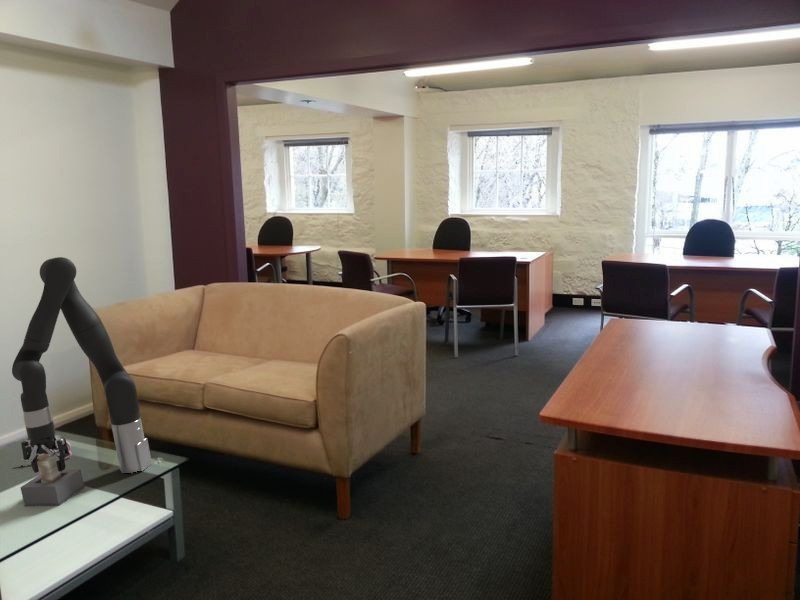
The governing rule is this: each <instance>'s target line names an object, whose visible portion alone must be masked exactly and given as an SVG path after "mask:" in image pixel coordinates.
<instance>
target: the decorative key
mask: <svg viewBox="0 0 800 600" xmlns="http://www.w3.org/2000/svg"><path fill="white" fill-rule="evenodd" d="M66 443H67V447H68V450H69V455H68V456H67V457H65V458H64V460H67V459H66V458H68V459H70V458H71V456H72V455H73V454H72V451H71V448H72V445H71V443H70V442H69V441H67V440H66ZM53 451H55V449H54V450H53ZM57 455H58V454H57ZM45 456H50V455H49V454H39V456H38V458H37V459H42V458H44V457H45ZM58 456H59V455H58Z"/></svg>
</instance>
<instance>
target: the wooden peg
mask: <svg viewBox="0 0 800 600" xmlns="http://www.w3.org/2000/svg"><path fill="white" fill-rule="evenodd" d="M56 461H57V460H56V459H55V458H54V457H53V456H50V455H49V456H45V457H44V458H42V459H40V460H39V461H37V464H38V468H39V472H38V474H39V475H40V478H41V482H42V483H54V482H55V481H57V480H58V479H60V478H61V477H62V476H61V472H59V471H58V468H57V463H56Z"/></svg>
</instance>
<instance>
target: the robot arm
mask: <svg viewBox="0 0 800 600" xmlns="http://www.w3.org/2000/svg"><path fill="white" fill-rule="evenodd" d="M39 277H40V279H41V281H42V283H43V290H42V293H41V297H40V300H39V302H38V305H37V307H36V309H35V311H34V313H33V314H32V317H31V319H30V321H29V324H28V327H27V329H26V332H25V334H24V335H25V336H24V339H23V343H22V346H21V347H20V349H19V350H18V352H17V354H16V356H15V358H14V361H13V363H12V368H11V374H12V376H13V378H14V379H15V380H17V381H19V382H21V388H22V392H21V394H20V403H21V408H22V411H23V420H24V425H25V430H26V435H27V438H26V439H25V440H23V441H22V442H21V443H20V444H21V452H22V457H23V460H24V461H27V460H29V461H30V462H29V463H31V468H32V470H33V472H34V473H39V468H38V464H37V461H39V459H37V458H38V456H39V455H42V454H49V456H53V457H54V458H55V459H56V460H57V461H56V463H57V468H58V471H59V472H61V471H63V470H64V469H66V462H65V459H64V458H65V457H67V456H69V451H70V450H68V449H69V446H68V445H67V443H66V441H67V439H66V438H65V437H62V438H58V439H57V438H56V428H55V423H54V419H53V414H52V410H51V408H50V404H49V399H48V396H47V395H48V394H47V374H46V371H45V367H44V366H43V364H42V363H41V362H40V361H41V358H42V356H43V354H44V353H46V352H47V351H48V349H49V348H50V344H51V343H52V342H51V341H52V338H53V335H54V330H55V328H56V325H57V322H58V318H59V314H60V312H61V313H62V314H63V317H64V319H65V321H66V324H67V325H68V327H69V329H70V331H71V333H72V335H73V337H74V338H75V341H76V343H77V344H78V346H79V347H80V349H81V350H82V352H83V353H84V354H85V356H86V357H87V358H88V359H89V360H90V362H91V363H92V364H93V366H94V368H95V369H96V371H97V373H98V376H99V378H100V381H101V383H102V386H103V389H104V393H105V399H106V402H107V407H108V408H107V409H108V414H109V420H110V425H111V429H112V436H113V440H114V446H115V449H116V457H117V460H118V466H119V472H120V471H121V472H122V473H121V472H120V473H121V474H123V473H131V474H134V473H133V472H136V473H138V472H137V471H142V472H144V471H145V470H146V469H147V468H149V467H150V466H151V465H152V464H153V463H152V462H153V461H152V458H151V457H152V456H151V452H150V445H149V440H148V437H145V434H144V429H143V424H142V419H141V418H142V417H141V412H140V404H139V398H138V393H137V387H136V384H135V381H134V380H133V378H132V376H130V374H129V373H128V372H127V370H126V368H125V366H123V365H122V363H121V361H120V360H119V358H118V356H117V354H116V352H115V349H114V346H113V343H112V340H111V338H110V335H109V333H108V331H107V329H106V327H105V325H104V323H103V321H102V319H101V318H100V317H99V315H98V314H97V312H96V311H95V310H94V308H93V307H92V306H91V304H89V302H87V301H86V299H85V298H84V297H83V295H82V294H81V292H80V291H79V290H80V289H78V286H77V284H76V282H75V278H76V277H77V267H76V265H75V263H74V262H73V261H72V260H71V259H69V258H67V257H62V256H60V257H59V256H58V257H52V258H49V259H46V260H45V261H43V263H41V265H40V267H39ZM54 449H55V451H53V450H54ZM57 454H58V455H59V456H58V455H57ZM144 469H145V470H144ZM143 470H144V471H143Z"/></svg>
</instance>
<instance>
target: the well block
mask: <svg viewBox="0 0 800 600" xmlns="http://www.w3.org/2000/svg"><path fill="white" fill-rule="evenodd" d="M61 476H62V477H61V478H60V479H58V480H57V481H55V482H54V483H42V482H41V478H40V474H39V475H38V476H36V477H34V478H33V479H31V480H30V481H28V482H27V483H24V485H22V486H21V487H20V492H21V496H22V497H21V498H22V501H23V504H24V505H23V506H24V507H58V506H61V505H62V504H63V503H65V502H66V501H67V500H69V499H70V498H72V497H73V496H74V495H76V494H77V493H78V492H80V491H81V490H82V489H84V488H85V484H84V478H83V473H82V470H81V468H70V469H69V468H67V469H66V468H65V469H64V470H63V471H61Z"/></svg>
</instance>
